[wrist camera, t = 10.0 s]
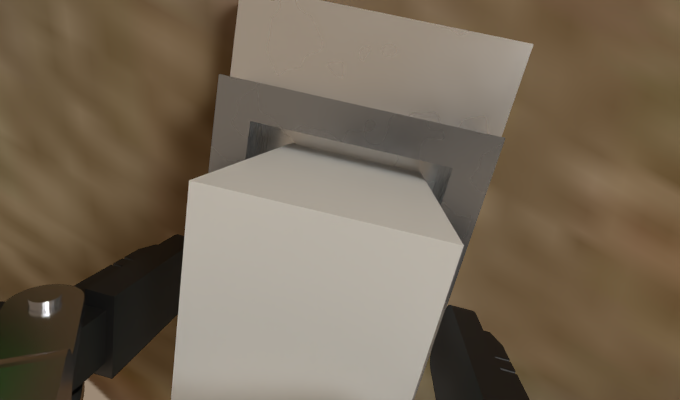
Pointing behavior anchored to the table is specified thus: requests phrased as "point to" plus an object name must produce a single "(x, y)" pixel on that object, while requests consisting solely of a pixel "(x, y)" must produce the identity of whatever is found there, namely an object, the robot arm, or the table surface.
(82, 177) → the table surface
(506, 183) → the table surface
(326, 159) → the block
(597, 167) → the table surface
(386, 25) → the grey flat block
